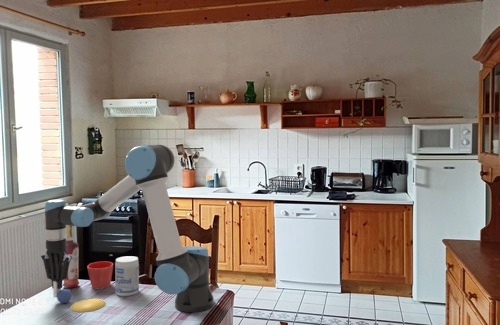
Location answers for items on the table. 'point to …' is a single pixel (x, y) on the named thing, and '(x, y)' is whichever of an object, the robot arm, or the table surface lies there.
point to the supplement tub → (127, 275)
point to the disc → (88, 305)
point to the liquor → (72, 251)
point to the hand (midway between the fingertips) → (57, 296)
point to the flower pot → (100, 274)
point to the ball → (64, 296)
